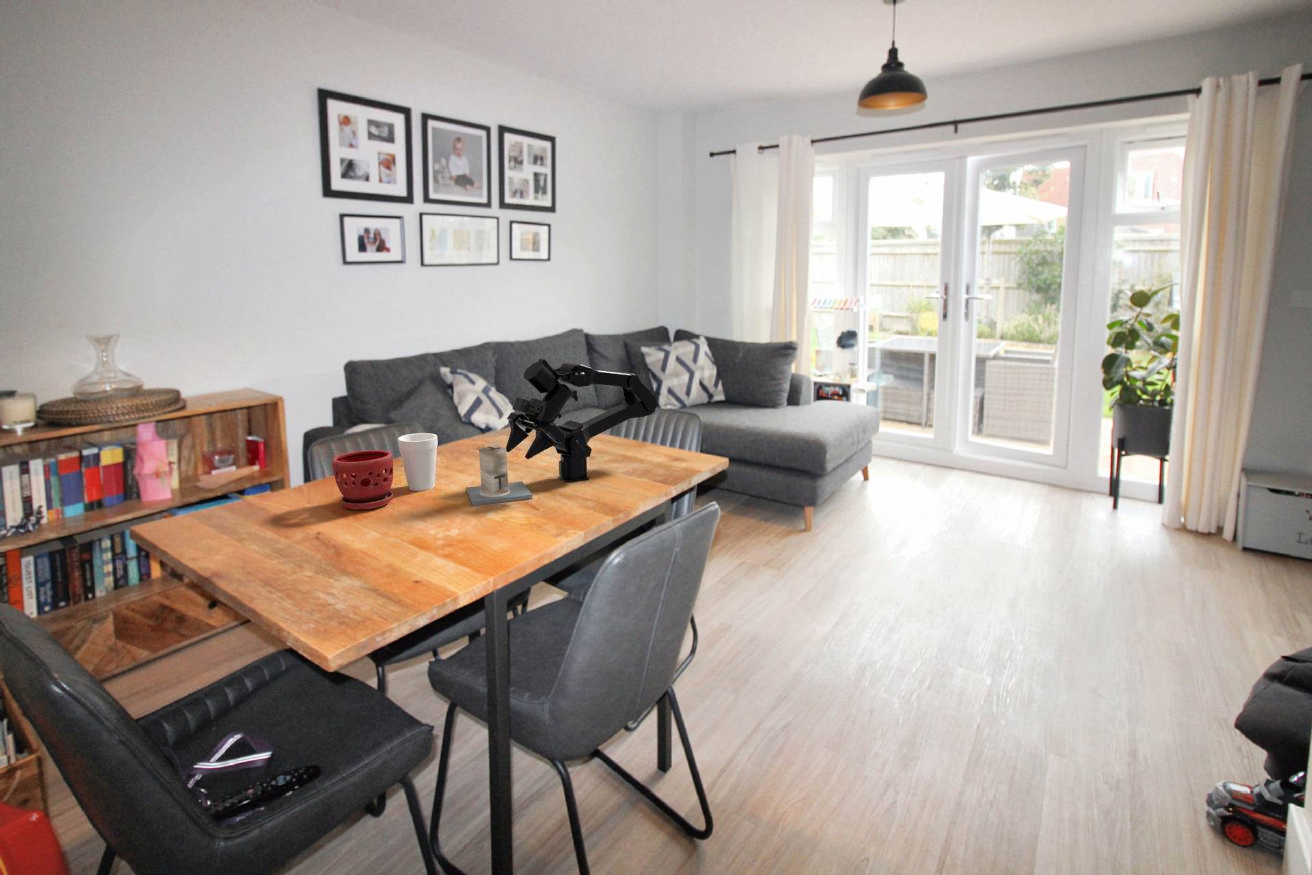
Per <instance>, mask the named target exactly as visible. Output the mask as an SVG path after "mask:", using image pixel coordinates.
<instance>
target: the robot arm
mask: <svg viewBox="0 0 1312 875" xmlns="http://www.w3.org/2000/svg"><path fill="white" fill-rule="evenodd" d="M523 379H524V380H525V381H526V382H527V383H528V384H530V386H532V387H533V388H534V390H536V391H537V392H538V393H539V394H544V393H545V394H544V395H543V397H541V399H537V398H534V397H531V398H530V399H524V398H521V397H517V396H516V397H515V399H514V403H513V404H512V405H513V406H512V407H511V409H512V410H513V411H512V412H510V413H509V415H508V416H507V417H506V419H507V422H508V424H509V426H510V433H509V436H508V440H507V443H506V446H505V448H506V453H510V452H511V451H513V450H514V449H516V447H517V446H518V445H520V444H521V443H522V442H523V441H525V439H527V438H529V436H530V433H531V432H532V431H535V438H534V439H533V441H532V443H531V445H530V446H529V448H528V450H527V451H526V453H525V456H524V457H525V459H526V460H530V459H533V457H535V456H537V455H539V454H541V453H542V452H544V451H546V450H548V449H550V448H552V447H554V449H555V451H556V453H557V454H559V455H560V460H559V461H558V475H559V477H560V478H561V479H562V481H564V482H567V483H569V482H576V481H577V482H578V481H586V480H589V479H590V476H589V475H588V461H587V460H588V458H590V457H591V455H592V454H591V453H592V447H590V445H588V444H589V441H590V440H591V439H592V438H594V437H596V436H598V435H601V434H602V433H605V432H606V431H609V430H610V429H612V428H614V427H616V426H618V425H620V424H623V423H625V422H626V421H629V420H630V419H638V418H639V419H640V418H644V417H649V416H651V415H653V414H654V413H656V409H657V405H658V403H657V399H656V397H655V396H654V395H653V394H652V393H651V391H650V389H648V388H647V386H645V385H644V383H642V382H641V379H640V378H639V377H638V375H636V374H635V373H631V372H625V371H624V372H617V371H616V372H615V371H608V370H600V369H599V370H598V369H594V368H593V367H590V366H587V365H584V364H580V363H574V362H569V361H568V362H563V363H562V364H561V366H560V367H557V368H555V369H554V368H553V367H552V366H551V365H550V364H549V362H548V361H547V360H546V359H545V358H539V359H538V361H536V362H534V363H531V365H530V366H528V367H527V368H526V369H525V371H524V373H523ZM592 385H602V386H611V387H613V386H614V387H620V388H621V394H622V397H623V400H622V401H621V403H620V404H619V405H617V406H615V407H613V408H609V409H608V410H607V411H604V412H602V413H599V414H598V415H595V416H593V417H592V418H590V419H588V420H585V421H583V422H578V421H574V420H570V419H569V420H568V421H566V422H563V423H562V424H556V423H555V421H556V420H557V419H559V420H561V419H562V417H563V415H562V414H561V412H562V411H563V409H564V408H565V407H566V405H567V404H568V402H569V401H574V402H578V401H579V397H578V396H579V395H578V391H577V390H575V389H571V388H570V387H569V386H572V387H576V388H581V387H582V388H583V387H589V386H592ZM523 413H524V414H523Z"/></svg>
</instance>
